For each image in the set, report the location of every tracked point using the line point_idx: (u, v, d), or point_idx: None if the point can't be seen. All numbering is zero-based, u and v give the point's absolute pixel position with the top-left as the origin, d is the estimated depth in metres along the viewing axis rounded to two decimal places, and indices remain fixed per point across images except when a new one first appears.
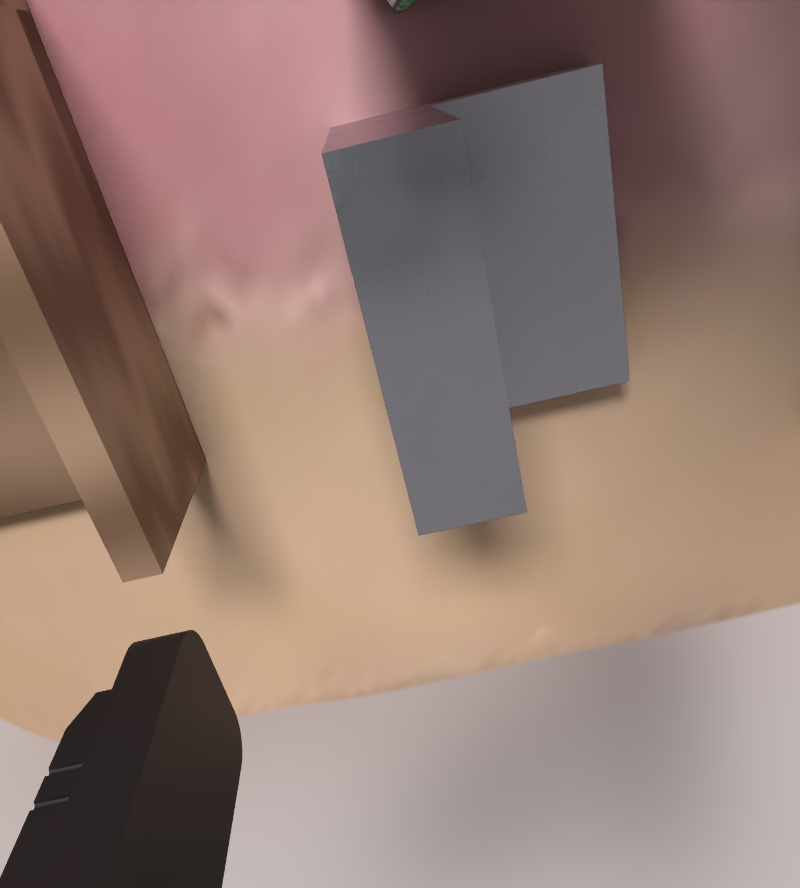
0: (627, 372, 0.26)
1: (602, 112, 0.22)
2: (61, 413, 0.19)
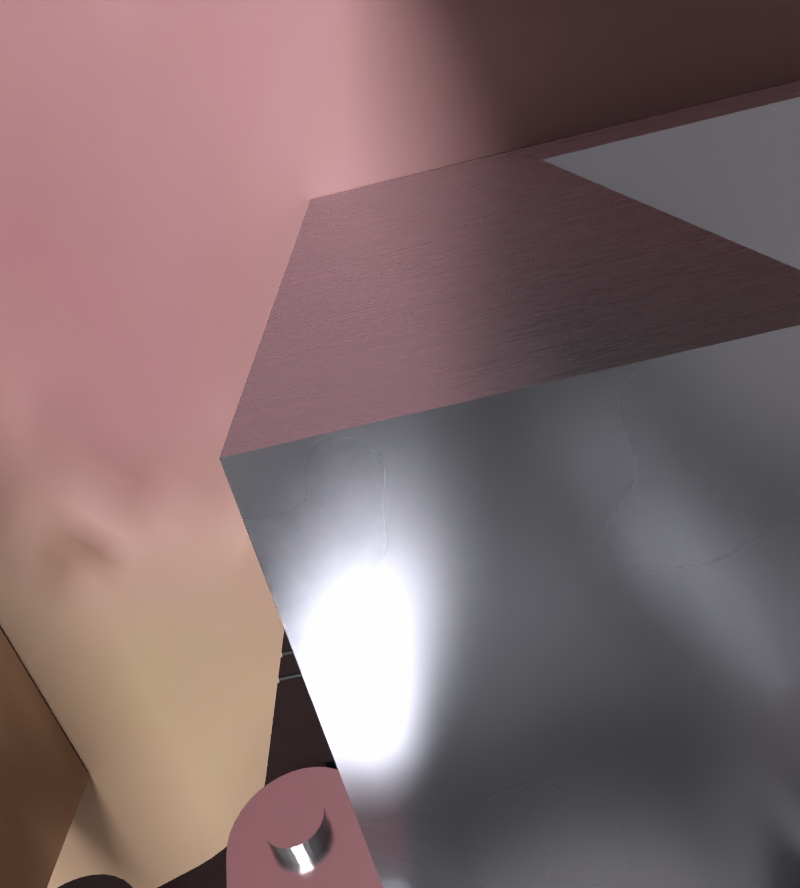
0: None
1: None
2: None
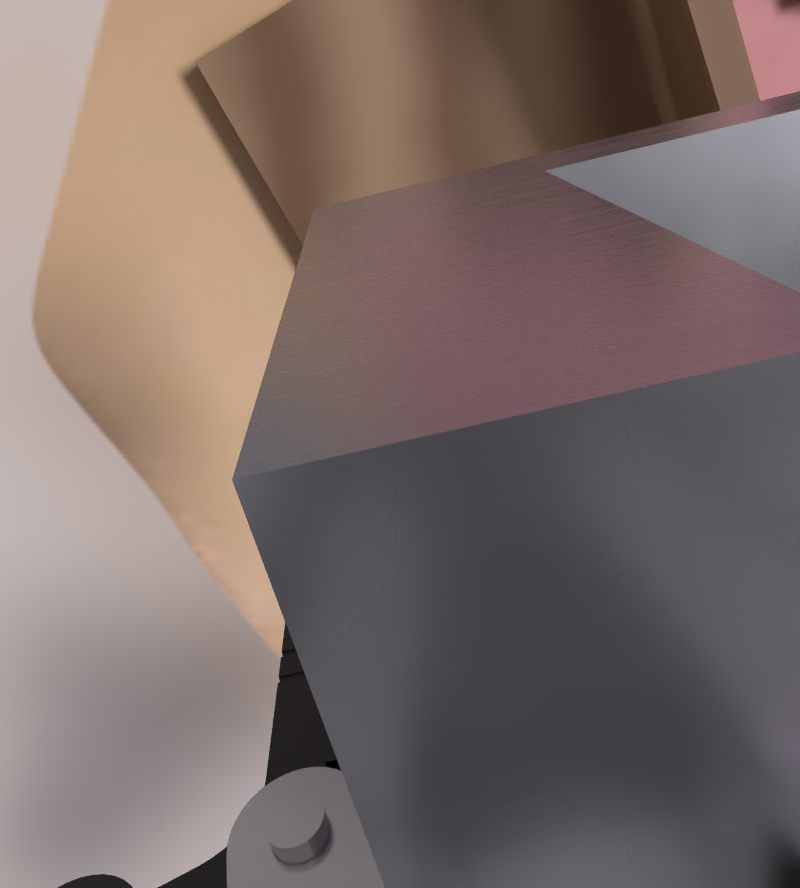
0: None
1: None
2: None
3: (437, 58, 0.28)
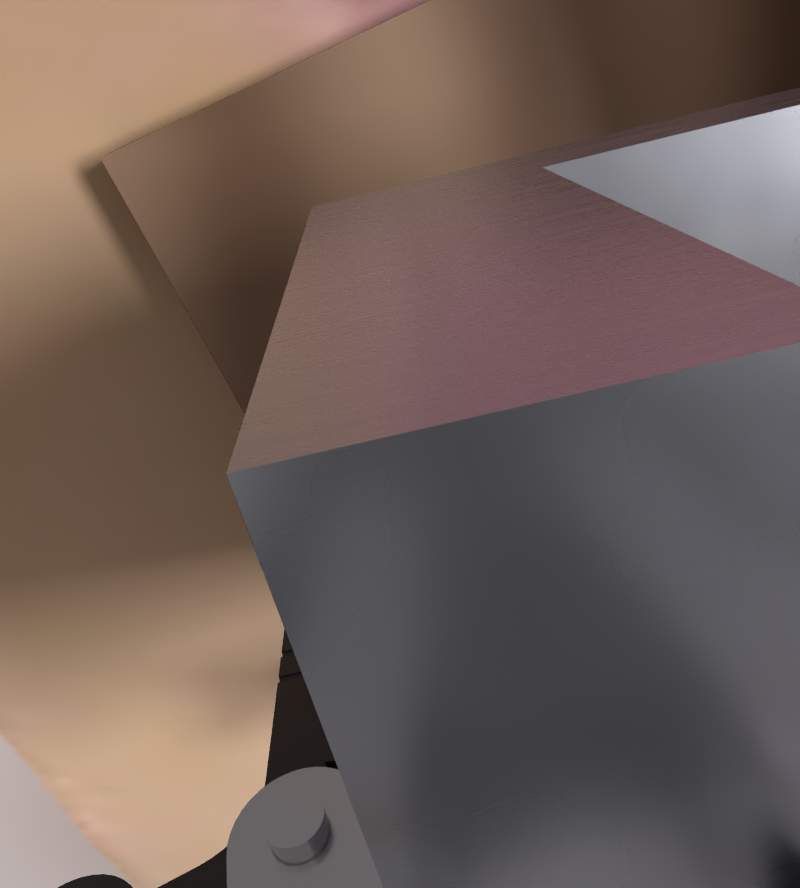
0: None
1: None
2: None
3: None
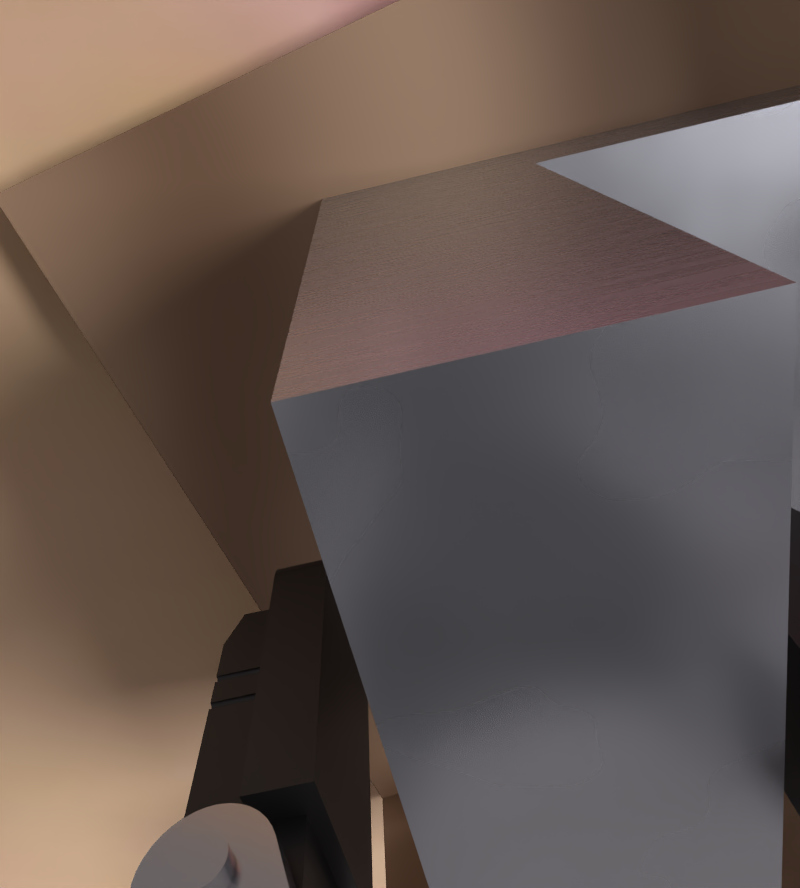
0: None
1: None
2: None
3: None
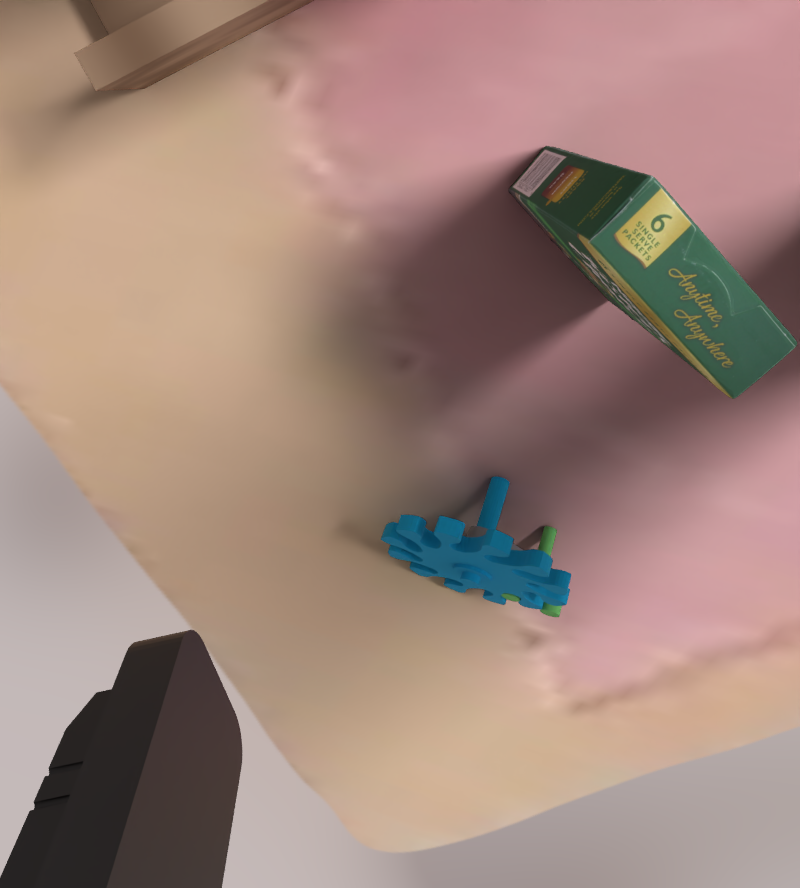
0: None
1: None
2: None
3: None
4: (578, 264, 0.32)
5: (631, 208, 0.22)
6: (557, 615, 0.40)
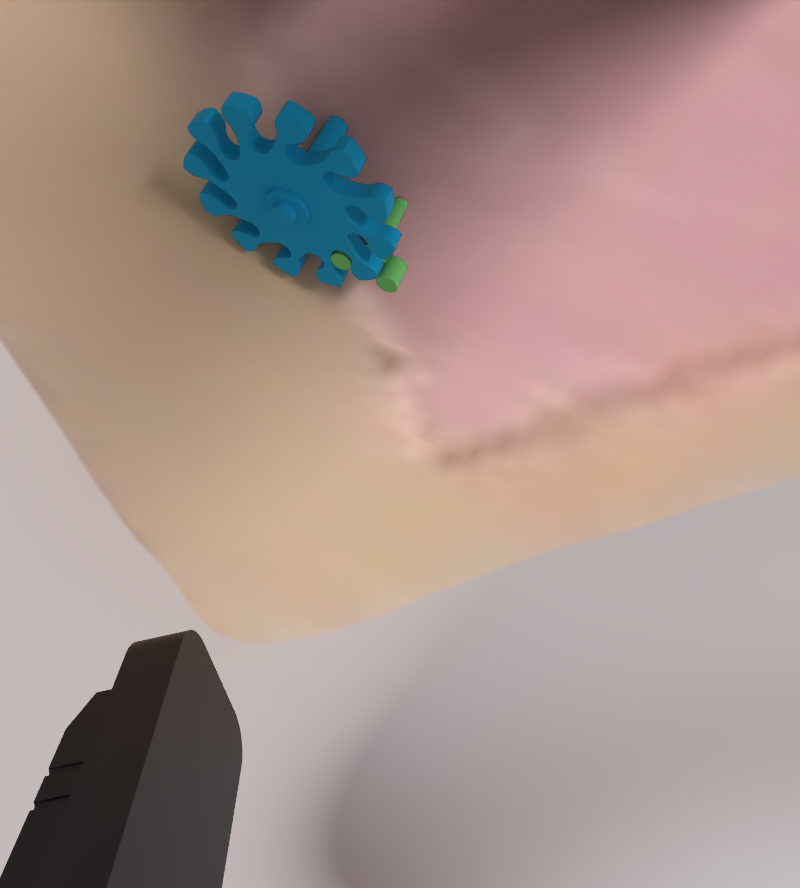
0: None
1: None
2: None
3: None
4: None
5: None
6: (395, 286, 0.34)
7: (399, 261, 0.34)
